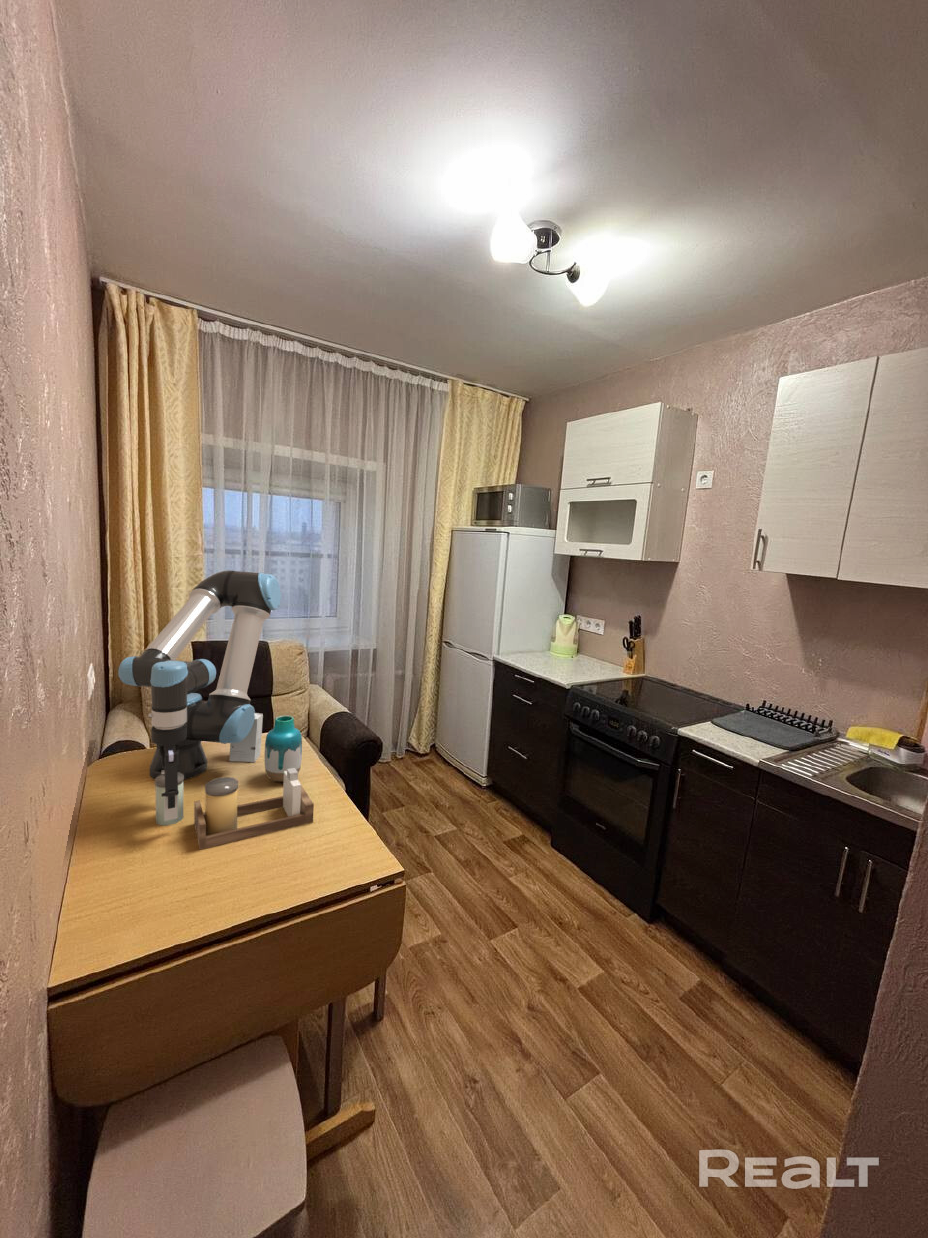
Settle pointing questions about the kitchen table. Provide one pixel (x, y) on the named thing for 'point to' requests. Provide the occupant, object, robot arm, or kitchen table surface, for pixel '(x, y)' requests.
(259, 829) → the wooden spice rack
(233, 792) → the amber jar
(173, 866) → the kitchen table surface
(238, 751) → the skincare box
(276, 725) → the vase
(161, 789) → the sage jar
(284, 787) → the plate
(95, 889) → the kitchen table surface
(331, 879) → the kitchen table surface
